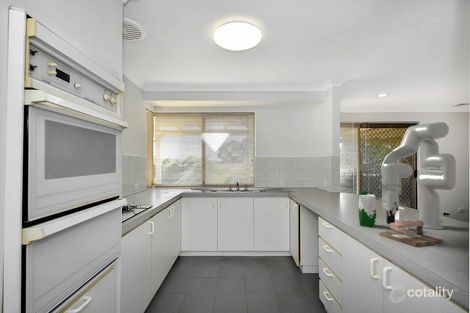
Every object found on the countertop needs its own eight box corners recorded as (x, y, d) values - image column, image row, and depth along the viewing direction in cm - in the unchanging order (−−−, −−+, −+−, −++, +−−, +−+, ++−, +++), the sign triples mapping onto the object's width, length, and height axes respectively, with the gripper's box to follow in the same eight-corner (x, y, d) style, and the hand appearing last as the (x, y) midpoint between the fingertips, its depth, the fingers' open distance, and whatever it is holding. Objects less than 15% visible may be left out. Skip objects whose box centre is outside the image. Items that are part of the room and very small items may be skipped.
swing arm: (417, 223, 125) (417, 220, 125) (425, 225, 121) (425, 222, 121) (389, 226, 118) (389, 222, 118) (397, 228, 115) (397, 224, 115)
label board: (404, 232, 131) (404, 221, 131) (442, 242, 114) (442, 230, 114) (379, 235, 125) (379, 224, 125) (415, 246, 108) (415, 233, 108)
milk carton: (359, 222, 151) (359, 190, 151) (376, 224, 146) (376, 191, 147) (358, 225, 143) (357, 191, 144) (375, 228, 139) (375, 192, 139)
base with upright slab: (411, 231, 133) (411, 209, 133) (393, 230, 134) (393, 208, 135) (403, 227, 141) (403, 206, 142) (386, 226, 143) (386, 205, 144)
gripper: (377, 186, 133) (377, 220, 133) (388, 189, 119) (388, 227, 118) (392, 186, 132) (392, 220, 131) (405, 189, 117) (405, 228, 117)
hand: (390, 223), depth 125 cm, fingers closed
